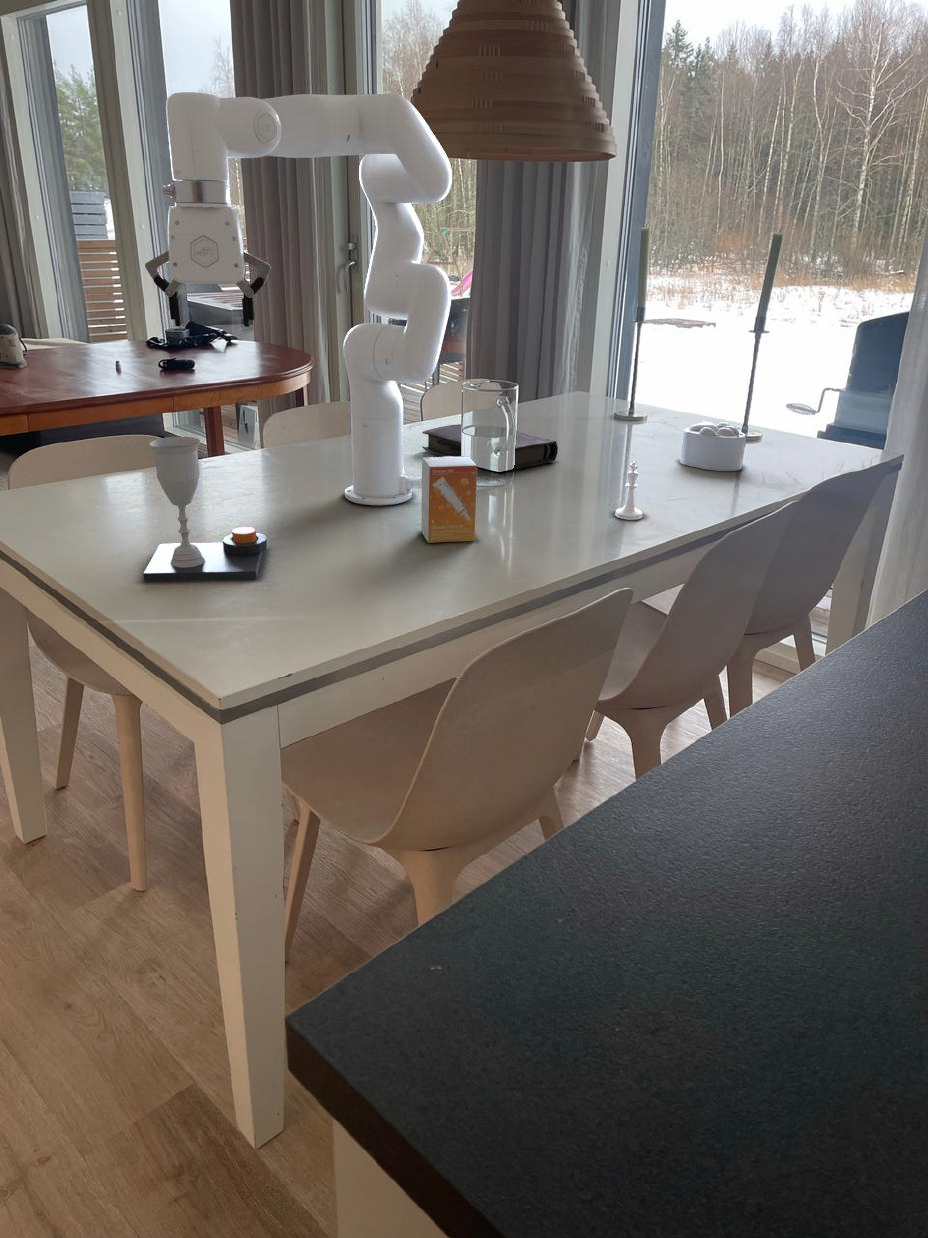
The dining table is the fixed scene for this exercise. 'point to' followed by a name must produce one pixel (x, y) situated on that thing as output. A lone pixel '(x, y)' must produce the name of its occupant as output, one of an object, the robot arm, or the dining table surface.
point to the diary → (526, 447)
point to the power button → (244, 535)
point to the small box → (449, 499)
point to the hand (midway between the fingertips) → (213, 325)
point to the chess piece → (630, 498)
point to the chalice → (179, 488)
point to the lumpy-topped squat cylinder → (713, 447)
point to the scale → (210, 562)
